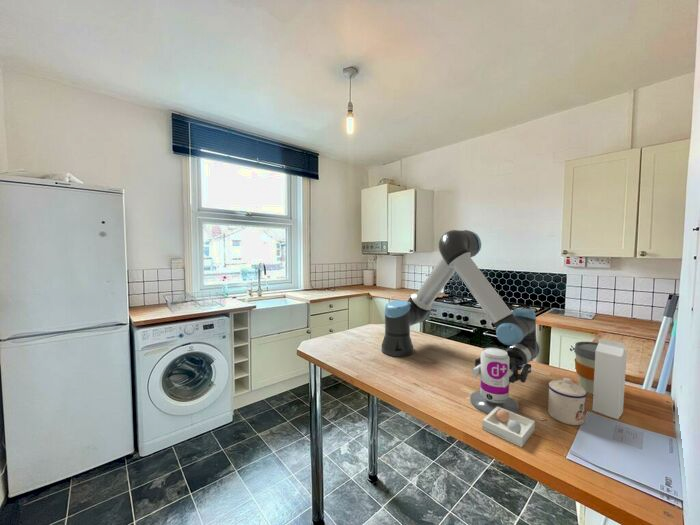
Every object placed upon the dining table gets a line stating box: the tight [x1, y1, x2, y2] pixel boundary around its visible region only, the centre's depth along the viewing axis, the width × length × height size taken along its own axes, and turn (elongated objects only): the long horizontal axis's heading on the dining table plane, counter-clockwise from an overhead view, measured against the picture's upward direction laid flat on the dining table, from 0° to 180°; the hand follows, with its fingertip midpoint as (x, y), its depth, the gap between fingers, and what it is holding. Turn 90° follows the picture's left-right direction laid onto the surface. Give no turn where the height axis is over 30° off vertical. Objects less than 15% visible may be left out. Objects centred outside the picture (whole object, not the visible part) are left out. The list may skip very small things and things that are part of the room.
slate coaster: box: [469, 390, 520, 415], centre depth 94 cm, size 14×14×1 cm
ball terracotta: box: [497, 410, 509, 422], centre depth 83 cm, size 3×3×3 cm
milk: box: [592, 338, 628, 420], centre depth 88 cm, size 6×6×22 cm
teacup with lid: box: [547, 377, 588, 426], centre depth 87 cm, size 12×9×12 cm
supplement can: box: [479, 347, 510, 403], centre depth 93 cm, size 8×8×15 cm
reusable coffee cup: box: [573, 341, 599, 395], centre depth 101 cm, size 12×13×15 cm
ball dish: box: [481, 406, 536, 448], centre depth 81 cm, size 10×10×3 cm
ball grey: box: [508, 420, 521, 434], centre depth 78 cm, size 3×3×3 cm
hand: (488, 377), depth 90 cm, fingers closed on supplement can, 8 cm apart
